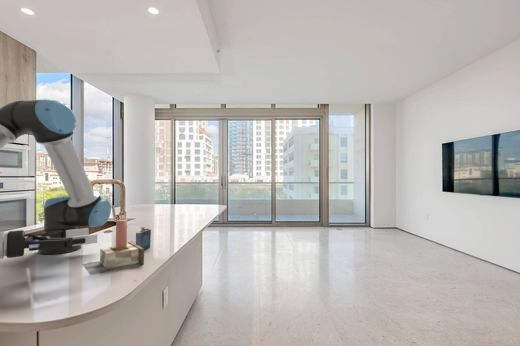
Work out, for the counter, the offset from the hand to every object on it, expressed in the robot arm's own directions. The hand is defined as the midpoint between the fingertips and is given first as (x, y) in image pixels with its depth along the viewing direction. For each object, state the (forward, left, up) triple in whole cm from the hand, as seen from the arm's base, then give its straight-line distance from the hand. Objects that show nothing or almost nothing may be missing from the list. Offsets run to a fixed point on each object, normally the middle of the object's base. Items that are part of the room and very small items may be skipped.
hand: (92, 235), depth 90 cm
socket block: (0, +8, -11) cm, 14 cm away
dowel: (0, +9, -10) cm, 13 cm away
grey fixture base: (0, +7, -12) cm, 14 cm away
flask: (-14, +21, -12) cm, 28 cm away
